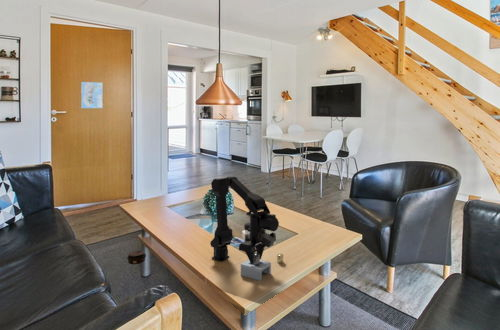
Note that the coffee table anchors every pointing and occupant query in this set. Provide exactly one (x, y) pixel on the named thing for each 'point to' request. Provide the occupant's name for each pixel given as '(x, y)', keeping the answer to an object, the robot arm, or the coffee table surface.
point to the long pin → (256, 259)
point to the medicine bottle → (246, 232)
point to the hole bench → (255, 269)
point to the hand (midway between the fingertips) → (255, 261)
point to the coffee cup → (136, 257)
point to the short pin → (279, 258)
